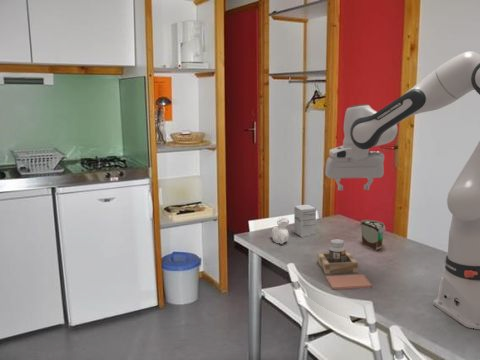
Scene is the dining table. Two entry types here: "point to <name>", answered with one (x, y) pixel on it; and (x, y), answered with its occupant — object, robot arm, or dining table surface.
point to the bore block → (337, 264)
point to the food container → (372, 234)
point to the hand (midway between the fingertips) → (353, 190)
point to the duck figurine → (280, 231)
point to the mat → (348, 281)
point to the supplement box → (305, 220)
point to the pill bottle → (337, 251)
